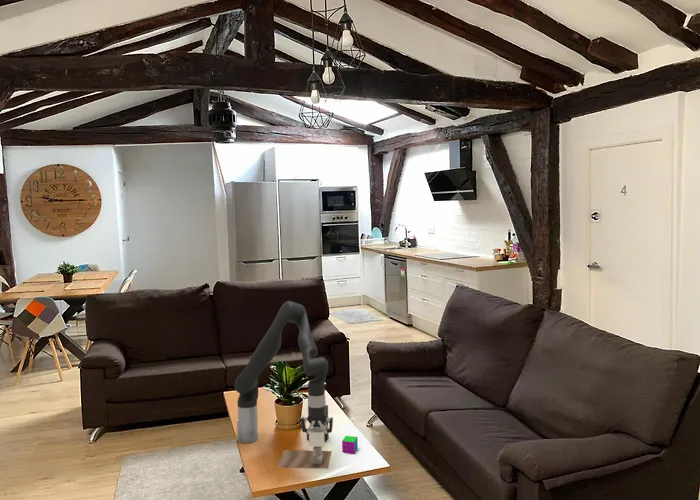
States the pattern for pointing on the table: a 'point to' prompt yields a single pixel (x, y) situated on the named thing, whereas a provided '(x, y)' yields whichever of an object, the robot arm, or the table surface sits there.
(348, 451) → the puzzle toy
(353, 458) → the table surface
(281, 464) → the post board
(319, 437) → the hollow square box
